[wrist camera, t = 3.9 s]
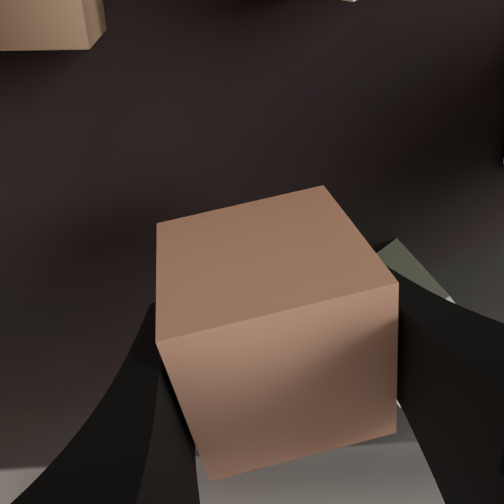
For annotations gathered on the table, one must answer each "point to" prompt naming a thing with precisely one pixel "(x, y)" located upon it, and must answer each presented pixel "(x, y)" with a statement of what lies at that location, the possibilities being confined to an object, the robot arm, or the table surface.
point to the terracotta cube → (276, 330)
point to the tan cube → (50, 24)
